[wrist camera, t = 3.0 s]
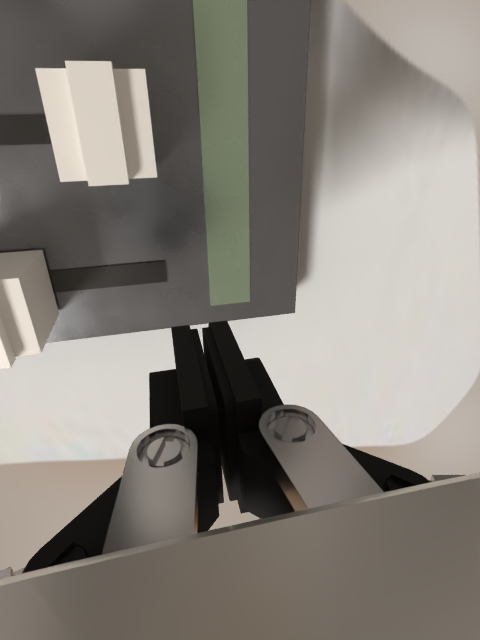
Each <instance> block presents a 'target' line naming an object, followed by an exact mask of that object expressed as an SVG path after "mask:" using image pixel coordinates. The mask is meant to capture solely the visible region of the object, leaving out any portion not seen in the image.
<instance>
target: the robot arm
mask: <svg viewBox="0 0 480 640" xmlns="http://www.w3.org/2000/svg"><path fill="white" fill-rule="evenodd" d="M171 329H172V338H173V346H174V355H175V364H176V369H173V370H166V371H159V372H152V373H150V374H149V385H150V429H148V430H146V431H145V432H143V433H141V434H140V435H139V436H138V437H137V438H136V439H135V440H134V441H133V443H132V445H131V447H130V449H129V453H128V457H127V460H126V464H125V468H124V472H123V476H122V477H121V478H119V479H118V480H117V481H116V482H115V483H114V484H113V485H111V486H110V487H109V488H108V489H107V490H106V491H105V492H104V493H102V495H100V496H99V497H98V498H97V499H96V500H95V501H93V502H92V503H91V504H90V505H89V506H88V507H87V508H86V509H85V510H83V511H82V512H81V513H80V514H79V515H78V516H77V517H75V518H74V519H73V520H72V521H71V522H70V523H69V524H68V525H67V526H65V527H64V528H63V529H62V530H61V531H60V532H59V533H58V534H56V535H55V536H54V537H53V538H52V539H51V540H50V541H49V542H47V543H46V544H45V545H44V546H43V547H42V548H41V549H40V550H39V551H38V552H37V553H36V554H35V555H34V556H33V557H32V558H31V559H30V561H29V562H28V564H27V566H26V567H25V568H22V569H20V570H18V571H15V572H13V570H12V568H11V567H8V568H6V569H4V570H1V571H0V640H480V473H475V474H470V475H432V477H431V481H429V480H427V479H426V478H425V477H423V476H422V475H420V474H418V473H416V472H414V471H412V470H409V469H407V468H404V467H401V466H399V465H396V464H394V463H391V462H388V461H386V460H383V459H381V458H378V457H375V456H373V455H370V454H367V453H365V452H362V451H360V450H357V449H354V448H352V447H349V446H347V445H344V444H342V443H341V442H340V441H339V440H338V439H337V438H336V437H335V435H334V434H333V433H332V432H331V431H330V430H329V428H328V427H327V426H326V425H325V424H324V423H323V422H322V420H321V419H320V418H319V417H318V416H317V415H316V414H314V413H313V412H312V411H310V410H308V409H306V408H304V407H301V406H297V405H284V404H283V402H282V400H281V399H280V397H279V395H278V393H277V391H276V389H275V387H274V385H273V383H272V381H271V379H270V377H269V375H268V373H267V372H266V370H265V368H264V366H263V364H262V362H261V360H260V359H259V358H252V359H245V360H244V358H243V355H242V353H241V351H240V349H239V346H238V344H237V342H236V340H235V337H234V335H233V333H232V331H231V328H230V326H229V324H228V322H227V320H226V321H218V322H210V323H209V327H207V328H202V333H203V346H204V353H203V349H202V345H201V341H200V338H199V334H198V330H197V329H191V330H190V325H184V326H176V327H171ZM222 469H223V474H224V478H225V482H226V486H227V491H228V495H229V499H230V501H234V500H238V504H239V508H240V512H241V513H245V512H250V513H252V514H254V515H255V516H257V517H259V520H255V521H250V522H246V523H241V524H237V525H232V526H228V527H223V528H219V529H214V530H210V531H208V530H209V529H210V527H211V526H212V525H213V523H214V522H215V521H216V519H217V518H218V517H219V507H218V504H219V503H223V502H224V498H223V482H222Z"/></svg>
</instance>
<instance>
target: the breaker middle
mask: <svg viewBox="0 0 480 640" xmlns="http://www.w3.org/2000/svg"><path fill="white" fill-rule="evenodd" d="M65 66H66V68H35V70H36V75H37V79H38V84H39V88H40V93H41V97H42V102H43V106H44V111H45V115H46V120H47V124H48V129H49V133H50V138H51V142H52V147H53V151H54V156H55V160H56V165H57V169H58V174H59V178H60V182H70V181H88V186H105V185H125V184H129V182H130V181H129V179H135V178H156V177H157V170H156V162H155V153H154V144H153V135H152V126H151V117H150V108H149V99H148V90H147V81H146V72H145V69H113V64H112V62H111V61H65Z"/></svg>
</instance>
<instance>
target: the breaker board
mask: <svg viewBox="0 0 480 640" xmlns="http://www.w3.org/2000/svg"><path fill="white" fill-rule="evenodd" d="M310 1H311V0H0V253H7V252H20V251H32V250H43V254H44V258H45V262H46V266H47V269H48V273H49V277H50V281H51V285H52V288H53V292H54V296H55V300H56V304H57V307H58V311H59V315H58V318H57V320H56V322H55V324H54V326H53V328H52V331H51V333H50V335H49V337H48V339H47V342H46V343H49V342H57V341H65V340H74V339H82V338H90V337H99V336H107V335H115V334H123V333H132V332H140V331H148V330H156V329H165V328H171V327H176V326H184V325H198V324H206V323H210V322H218V321H226V320H227V321H231V320H239V319H247V318H256V317H264V316H272V315H280V314H289V313H295V301H296V281H297V261H298V241H299V221H300V201H301V181H302V161H303V141H304V121H305V101H306V81H307V61H308V41H309V21H310ZM65 61H111V62H112V64H113V69H145V72H146V81H147V90H148V99H149V108H150V117H151V126H152V135H153V144H154V153H155V162H156V170H157V177H156V178H135V179H129V181H130V182H129V184H125V185H105V186H88V181H70V182H60V178H59V174H58V169H57V165H56V160H55V156H54V151H53V147H52V142H51V138H50V133H49V129H48V124H47V120H46V115H45V111H44V106H43V102H42V97H41V93H40V88H39V84H38V79H37V75H36V70H35V68H66V66H65Z"/></svg>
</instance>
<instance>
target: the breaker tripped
mask: <svg viewBox="0 0 480 640" xmlns="http://www.w3.org/2000/svg"><path fill="white" fill-rule="evenodd" d="M58 315H59V311H58V307H57V304H56V300H55V296H54V292H53V288H52V285H51V281H50V277H49V273H48V269H47V266H46V262H45V258H44V254H43V250H32V251H20V252H7V253H0V369H4V368H11V367H12V365H13V363H14V361H15V359H16V358H15V356H23V355H31V354H39V353H41V352H42V350H43V348H44V346H45V344H46V342H47V339H48V337H49V335H50V333H51V331H52V328H53V326H54V324H55V322H56V320H57V318H58Z"/></svg>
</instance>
